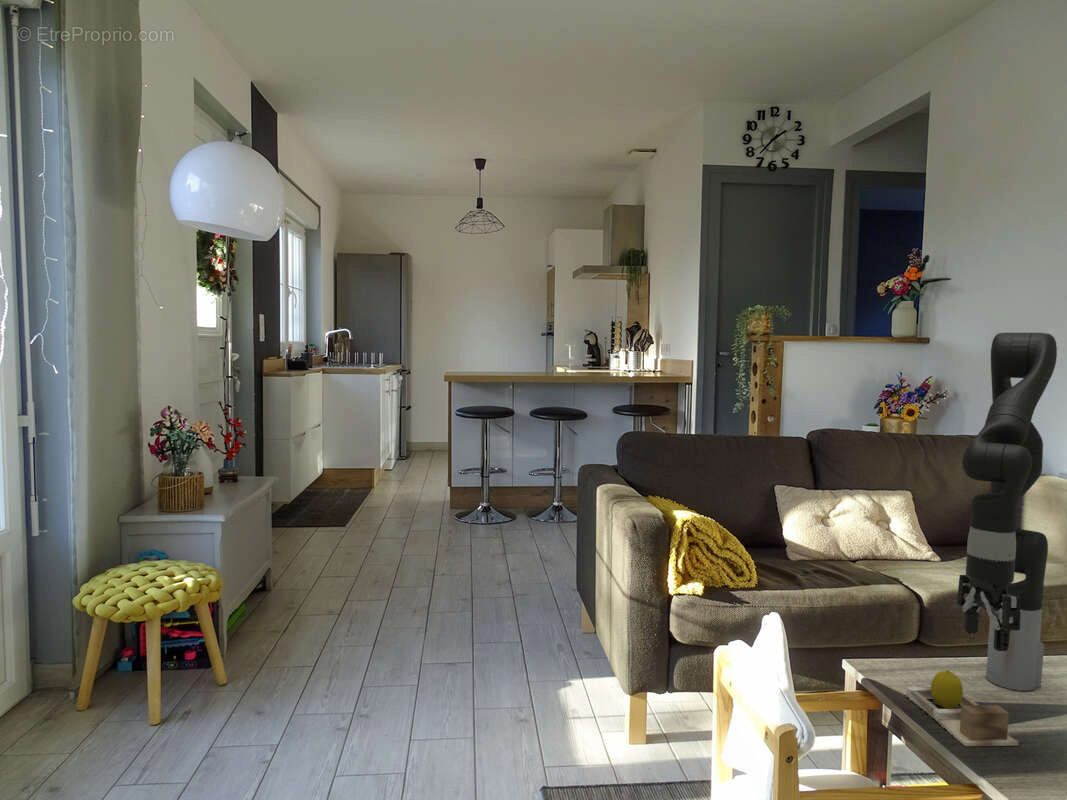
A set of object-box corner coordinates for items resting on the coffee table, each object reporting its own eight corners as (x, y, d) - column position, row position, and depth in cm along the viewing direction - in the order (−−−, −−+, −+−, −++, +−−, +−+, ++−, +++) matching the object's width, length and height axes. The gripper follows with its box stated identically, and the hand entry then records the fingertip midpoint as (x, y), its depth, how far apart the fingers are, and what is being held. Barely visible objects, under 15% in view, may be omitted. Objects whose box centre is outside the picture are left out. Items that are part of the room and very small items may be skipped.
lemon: (965, 717, 150) (968, 677, 149) (934, 714, 151) (937, 674, 150) (956, 704, 155) (958, 666, 154) (926, 701, 156) (928, 663, 155)
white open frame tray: (953, 696, 159) (954, 669, 158) (1018, 745, 139) (1020, 715, 139) (906, 696, 158) (907, 669, 157) (965, 746, 138) (967, 716, 138)
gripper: (1038, 564, 132) (1032, 657, 133) (985, 543, 147) (980, 627, 148) (996, 564, 132) (990, 656, 133) (947, 543, 146) (942, 626, 147)
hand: (985, 641), depth 140 cm, fingers open, 8 cm apart
